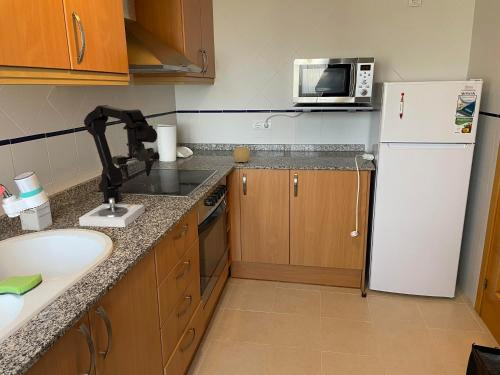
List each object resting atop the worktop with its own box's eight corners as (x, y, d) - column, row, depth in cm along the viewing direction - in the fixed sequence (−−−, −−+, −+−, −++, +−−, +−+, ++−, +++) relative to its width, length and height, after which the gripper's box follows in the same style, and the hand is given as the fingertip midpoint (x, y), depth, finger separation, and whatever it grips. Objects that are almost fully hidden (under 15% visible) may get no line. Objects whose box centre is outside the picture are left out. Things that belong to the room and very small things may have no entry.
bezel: (79, 225, 142) (78, 217, 141) (104, 210, 159) (103, 203, 158) (125, 227, 139) (124, 218, 138) (144, 211, 157) (144, 204, 156)
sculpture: (250, 160, 264) (250, 145, 262) (250, 163, 253) (249, 147, 250) (234, 160, 265) (233, 145, 262) (233, 164, 253) (232, 148, 250)
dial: (129, 217, 146) (127, 203, 144) (98, 221, 142) (97, 207, 140) (127, 209, 156) (125, 196, 154) (98, 213, 152) (96, 199, 150)
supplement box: (21, 230, 138) (15, 197, 135) (36, 223, 145) (30, 191, 142) (39, 231, 137) (33, 197, 134) (53, 224, 144) (48, 192, 141)
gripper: (122, 145, 143) (125, 185, 147) (165, 140, 155) (167, 177, 159) (109, 142, 151) (113, 180, 155) (151, 138, 163) (154, 173, 167)
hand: (138, 178), depth 159 cm, fingers open, 9 cm apart
